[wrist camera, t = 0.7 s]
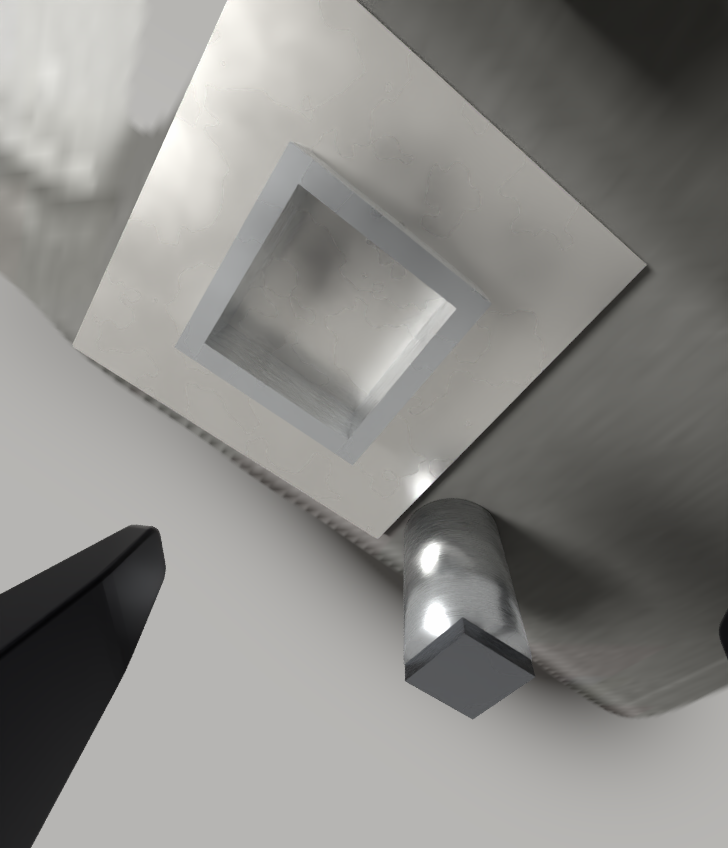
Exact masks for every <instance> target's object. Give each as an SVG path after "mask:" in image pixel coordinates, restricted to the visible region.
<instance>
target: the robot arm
mask: <svg viewBox="0 0 728 848" xmlns="http://www.w3.org/2000/svg"><path fill="white" fill-rule="evenodd" d="M165 570H166V565H165V559H164V553H163V548H162V542H161V536H160V533H159V531H158V529H157V528H155V527H153V526H143V525H130V526H128V527H126V528H124V529H122V530H120V531H118V532H116V533H114V534H113V535H111V536H109V537H107V538H105V539H103V540H101V541H99V542H98V543H96V544H94V545H92V546H90V547H88V548H86V549H84V550H83V551H81V552H79V553H77V554H75V555H73V556H71V557H69V558H68V559H66V560H64V561H62V562H60V563H58V564H56V565H54V566H52V567H50V568H49V569H47V570H45V571H43V572H41V573H39V574H37V575H35V576H34V577H32V578H30V579H28V580H26V581H24V582H22V583H20V584H19V585H17V586H15V587H13V588H11V589H9V590H8V591H6V592H4V593H2V594H0V848H31V847H32V845H33V843H34V841H35V839H36V837H37V835H38V834H39V832H40V830H41V828H42V826H43V824H44V822H45V821H46V819H47V817H48V815H49V813H50V811H51V809H52V807H53V806H54V804H55V802H56V800H57V798H58V796H59V795H60V793H61V791H62V789H63V787H64V785H65V783H66V782H67V780H68V778H69V776H70V774H71V772H72V770H73V769H74V767H75V764H76V763H77V761H78V759H79V757H80V756H81V754H82V752H83V750H84V748H85V746H86V744H87V742H88V740H89V739H90V737H91V735H92V733H93V731H94V729H95V728H96V726H97V724H98V722H99V720H100V718H101V716H102V714H103V713H104V711H105V709H106V707H107V705H108V703H109V702H110V700H111V698H112V696H113V694H114V692H115V690H116V688H117V687H118V685H119V683H120V681H121V679H122V677H123V675H124V673H125V671H126V669H127V666H128V664H129V662H130V660H131V658H132V655H133V653H134V650H135V648H136V646H137V643H138V641H139V638H140V636H141V634H142V631H143V629H144V626H145V624H146V621H147V619H148V616H149V614H150V612H151V609H152V607H153V605H154V602H155V600H156V597H157V595H158V593H159V590H160V588H161V585H162V583H163V580H164V577H165ZM719 636H720V640H721V644H722V646H723V649H724V651H725V654H726V656H727V659H728V610H727V612H726V614H725V615H724V617H723V619H722V621H721V623H720V627H719Z"/></svg>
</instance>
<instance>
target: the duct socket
mask: <svg viewBox="0 0 728 848" xmlns="http://www.w3.org/2000/svg"><path fill="white" fill-rule="evenodd" d="M646 265H647V264H645V263H644V262H643V261H642V260H641V259H640V258H639V257H638V256H637V255H636V254H634V253H633V252H632V251H631V250H630V249H629V248H628V247H627V246H626V245H625V244H623V243H622V242H621V241H620V240H619V239H618V238H617V237H616V236H615V235H614V234H612V233H611V232H610V231H609V230H608V229H607V228H606V227H605V226H604V225H603V224H601V223H600V222H599V221H598V220H597V219H596V218H595V217H594V216H593V215H592V214H590V213H589V212H588V211H587V210H586V209H585V208H584V207H583V206H582V205H581V204H579V203H578V202H577V201H576V200H575V199H574V198H573V197H572V196H571V195H570V194H568V193H567V192H566V191H565V190H564V189H563V188H562V187H561V186H560V185H559V184H557V183H556V182H555V181H554V180H553V179H552V178H551V177H550V176H549V175H548V174H546V173H545V172H544V171H543V170H542V169H541V168H540V167H539V166H538V165H537V164H535V163H534V162H533V161H532V160H531V159H530V158H529V157H528V156H527V155H526V154H524V153H523V152H522V151H521V150H520V149H519V148H518V147H517V146H516V145H515V144H513V143H512V142H511V141H510V140H509V139H508V138H507V137H506V136H505V135H504V134H503V133H501V132H500V131H499V130H498V129H497V128H496V127H495V126H494V125H493V124H492V123H490V122H489V121H488V120H487V119H486V118H485V117H484V116H483V115H482V114H481V113H479V112H478V111H477V110H476V109H475V108H474V107H473V106H472V105H471V104H470V103H468V102H467V101H466V100H465V99H464V98H463V97H462V96H461V95H460V94H459V93H457V92H456V91H455V90H454V89H453V88H452V87H451V86H450V85H449V84H448V83H446V82H445V81H444V80H443V79H442V78H441V77H440V76H439V75H438V74H437V73H435V72H434V71H433V70H432V69H431V68H430V67H429V66H428V65H427V64H426V63H424V62H423V61H422V60H421V59H420V58H419V57H418V56H417V55H416V54H415V53H413V52H412V51H411V50H410V49H409V48H408V47H407V46H406V45H405V44H404V43H402V42H401V41H400V40H399V39H398V38H397V37H396V36H395V35H394V34H393V33H391V32H390V31H389V30H388V29H387V28H386V27H385V26H384V25H383V24H382V23H380V22H379V21H378V20H377V19H376V18H375V17H374V16H373V15H372V14H371V13H369V12H368V11H367V10H366V9H365V8H364V7H363V6H362V5H361V4H360V3H359V2H357V1H356V0H227V3H226V5H225V7H224V9H223V11H222V14H221V16H220V18H219V21H218V22H217V25H216V27H215V29H214V31H213V34H212V36H211V38H210V40H209V42H208V45H207V47H206V49H205V51H204V54H203V56H202V58H201V60H200V62H199V65H198V67H197V69H196V71H195V74H194V76H193V78H192V80H191V82H190V85H189V87H188V89H187V91H186V94H185V96H184V98H183V100H182V102H181V105H180V107H179V109H178V111H177V114H176V116H175V118H174V120H173V122H172V125H171V127H170V129H169V131H168V134H167V136H166V138H165V140H164V142H163V145H162V147H161V149H160V151H159V154H158V156H157V158H156V160H155V162H154V165H153V167H152V169H151V171H150V174H149V176H148V178H147V180H146V182H145V185H144V187H143V189H142V191H141V194H140V196H139V198H138V200H137V202H136V205H135V207H134V209H133V211H132V214H131V216H130V218H129V220H128V222H127V225H126V227H125V229H124V231H123V234H122V236H121V238H120V240H119V243H118V245H117V247H116V249H115V251H114V254H113V256H112V258H111V260H110V263H109V265H108V267H107V269H106V271H105V274H104V276H103V278H102V280H101V283H100V285H99V287H98V289H97V291H96V294H95V296H94V298H93V300H92V303H91V305H90V307H89V309H88V311H87V314H86V316H85V318H84V320H83V323H82V325H81V327H80V329H79V331H78V334H77V336H76V338H75V340H74V343H73V345H72V347H74V348H75V349H77V350H79V351H80V352H82V353H83V354H85V355H87V356H88V357H90V358H91V359H93V360H94V361H96V362H98V363H99V364H101V365H102V366H104V367H106V368H107V369H109V370H110V371H112V372H113V373H115V374H117V375H118V376H120V377H121V378H123V379H125V380H126V381H128V382H129V383H131V384H132V385H134V386H136V387H137V388H139V389H140V390H142V391H144V392H145V393H147V394H148V395H150V396H151V397H153V398H155V399H156V400H158V401H159V402H161V403H162V404H164V405H166V406H167V407H169V408H170V409H172V410H174V411H175V412H177V413H178V414H180V415H181V416H183V417H185V418H186V419H188V420H189V421H191V422H193V423H194V424H196V425H197V426H199V427H200V428H202V429H204V430H205V431H207V432H208V433H210V434H212V435H213V436H215V437H216V438H218V439H219V440H221V441H223V442H224V443H226V444H227V445H229V446H231V447H232V448H234V449H235V450H237V451H238V452H240V453H242V454H243V455H245V456H246V457H248V458H250V459H251V460H253V461H254V462H256V463H257V464H259V465H261V466H262V467H264V468H265V469H267V470H269V471H270V472H272V473H273V474H275V475H276V476H278V477H280V478H281V479H283V480H284V481H286V482H288V483H289V484H291V485H292V486H294V487H295V488H297V489H299V490H300V491H302V492H303V493H305V494H307V495H308V496H310V497H311V498H313V499H314V500H316V501H318V502H319V503H321V504H322V505H324V506H326V507H327V508H329V509H330V510H332V511H333V512H335V513H337V514H338V515H340V516H341V517H343V518H345V519H346V520H348V521H349V522H351V523H352V524H354V525H356V526H357V527H359V528H360V529H362V530H364V531H365V532H367V533H368V534H370V535H371V536H373V537H375V538H376V539H378V538H379V537H380V536H381V535H382V534H383V533H384V532H385V531H386V530H387V529H388V528H389V527H390V526H391V525H392V524H393V523H394V522H395V521H396V520H397V519H398V518H399V517H400V516H401V515H402V514H403V513H404V512H405V511H406V510H407V509H408V508H409V507H410V506H411V505H412V504H413V503H414V502H415V501H416V500H417V499H418V497H419V496H420V495H421V494H422V493H423V492H424V491H425V490H426V489H427V488H428V487H429V486H430V485H431V484H432V483H433V482H434V481H435V480H436V479H437V478H438V477H439V476H440V475H441V474H442V473H443V472H444V471H445V470H446V469H447V468H448V467H449V466H450V465H451V464H452V463H453V462H454V461H455V460H456V459H457V458H458V457H459V456H460V455H461V454H462V453H463V452H464V451H465V450H466V449H467V448H468V447H469V446H470V445H471V444H472V442H473V441H474V440H475V439H476V438H477V437H478V436H479V435H480V434H481V433H482V432H483V431H484V430H485V429H486V428H487V427H488V426H489V425H490V424H491V423H492V422H493V421H494V420H495V419H496V418H497V417H498V416H499V415H500V414H501V413H502V412H503V411H504V410H505V409H506V408H507V407H508V406H509V405H510V404H511V403H512V402H513V401H514V400H515V399H516V398H517V397H518V396H519V395H520V394H521V393H522V392H523V391H524V390H525V389H526V388H527V386H528V385H529V384H530V383H531V382H532V381H533V380H534V379H535V378H536V377H537V376H538V375H539V374H540V373H541V372H542V371H543V370H544V369H545V368H546V367H547V366H548V365H549V364H550V363H551V362H552V361H553V360H554V359H555V358H556V357H557V356H558V355H559V354H560V353H561V352H562V351H563V350H564V349H565V348H566V347H567V346H568V345H569V344H570V343H571V342H572V341H573V340H574V339H575V338H576V337H577V336H578V335H579V334H580V333H581V332H582V330H583V329H584V328H585V327H586V326H587V325H588V324H589V323H590V322H591V321H592V320H593V319H594V318H595V317H596V316H597V315H598V314H599V313H600V312H601V311H602V310H603V309H604V308H605V307H606V306H607V305H608V304H609V303H610V302H611V301H612V300H613V299H614V298H615V297H616V296H617V295H618V294H619V293H620V292H621V291H622V290H623V289H624V288H625V287H626V286H627V285H628V284H629V283H630V282H631V281H632V280H633V279H634V278H635V277H636V275H637V274H638V273H639V272H640V271H641V270H642V269H643V268H644V267H645V266H646Z"/></svg>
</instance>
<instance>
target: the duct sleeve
mask: <svg viewBox="0 0 728 848" xmlns="http://www.w3.org/2000/svg"><path fill="white" fill-rule="evenodd" d="M531 661H532V657H531V651H530V647H529V644H528V640H527V636H526V633H525V629H524V625H523V621H522V618H521V614H520V610H519V607H518V603H517V599H516V595H515V592H514V588H513V584H512V581H511V577H510V573H509V569H508V566H507V562H506V558H505V554H504V551H503V547H502V543H501V540H500V536H499V532H498V528H497V525H496V523H495V521H494V519H493V517H492V516H491V515H490V514H489V513H488V511H486V510H485V509H484V508H483V507H481V506H479V505H478V504H475V503H473V502H470V501H467V500H463V499H454V498H451V499H441V500H437V501H433V502H431V503H428V504H426V505H424V506H422V507H421V508H420V509H418V510H417V511H416V512H415V513H414V514H413V515H412V516H411V517H410V519H409V520H408V522H407V525H406V527H405V532H404V665H405V681H406V682H408V683H409V684H411V685H413V686H415V687H416V688H418V689H420V690H422V691H423V692H425V693H427V694H429V695H431V696H432V697H434V698H436V699H438V700H439V701H441V702H443V703H445V704H447V705H448V706H450V707H452V708H454V709H455V710H457V711H459V712H461V713H463V714H464V715H466V716H468V717H470V718H471V719H474V718H475V717H477V716H478V715H480V714H481V713H483V712H484V711H486V710H487V709H489V708H490V707H492V706H493V705H495V704H496V703H498V702H499V701H501V700H502V699H503V698H505V697H506V696H508V695H509V694H511V693H512V692H514V691H515V690H517V689H518V688H520V687H521V686H523V685H524V684H525V683H527V682H528V681H530V680H531V679H533V678H534V677H535V674H534V670H533V667H532V662H531Z"/></svg>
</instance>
